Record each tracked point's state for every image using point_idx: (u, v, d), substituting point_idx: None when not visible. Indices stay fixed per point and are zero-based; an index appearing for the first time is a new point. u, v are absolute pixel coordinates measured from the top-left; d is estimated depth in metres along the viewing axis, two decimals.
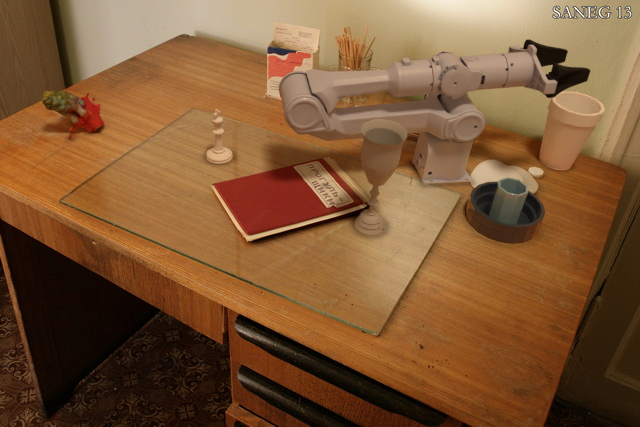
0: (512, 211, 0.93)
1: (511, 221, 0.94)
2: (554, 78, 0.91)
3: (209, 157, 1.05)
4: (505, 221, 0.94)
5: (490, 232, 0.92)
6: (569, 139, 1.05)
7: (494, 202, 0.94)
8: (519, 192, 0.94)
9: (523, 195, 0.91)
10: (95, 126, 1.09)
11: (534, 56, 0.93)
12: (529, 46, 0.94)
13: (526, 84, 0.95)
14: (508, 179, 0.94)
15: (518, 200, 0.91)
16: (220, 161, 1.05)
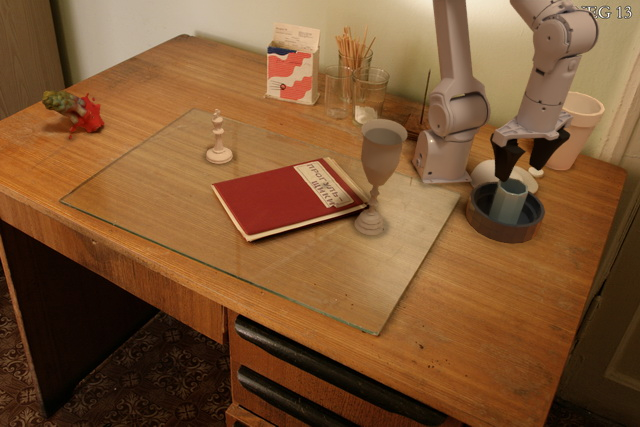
0: (512, 211, 0.93)
1: (511, 221, 0.94)
2: (507, 146, 0.83)
3: (209, 157, 1.05)
4: (505, 221, 0.94)
5: (490, 232, 0.92)
6: (569, 139, 1.05)
7: (494, 202, 0.94)
8: (519, 192, 0.94)
9: (523, 195, 0.91)
10: (95, 126, 1.09)
11: (542, 135, 0.83)
12: (556, 134, 0.83)
13: (517, 117, 0.85)
14: (508, 179, 0.94)
15: (518, 200, 0.91)
16: (220, 161, 1.05)
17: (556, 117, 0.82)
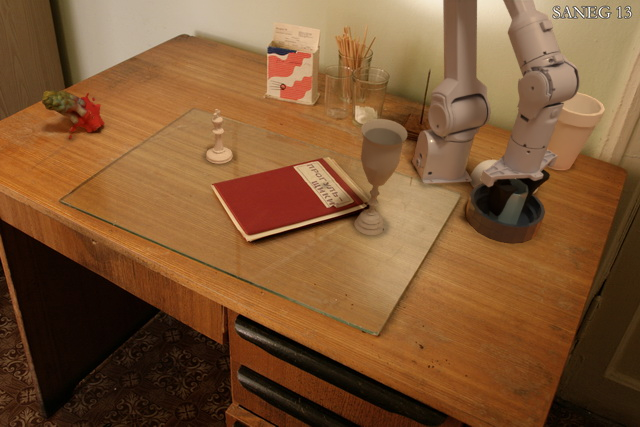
0: (512, 210, 0.93)
1: (511, 221, 0.94)
2: (500, 183, 0.88)
3: (209, 157, 1.05)
4: (505, 221, 0.94)
5: (490, 232, 0.92)
6: (569, 139, 1.05)
7: None
8: (519, 192, 0.94)
9: (523, 195, 0.91)
10: (95, 126, 1.09)
11: (527, 175, 0.87)
12: (541, 175, 0.87)
13: (504, 158, 0.90)
14: None
15: (518, 200, 0.91)
16: (220, 161, 1.05)
17: (540, 159, 0.87)
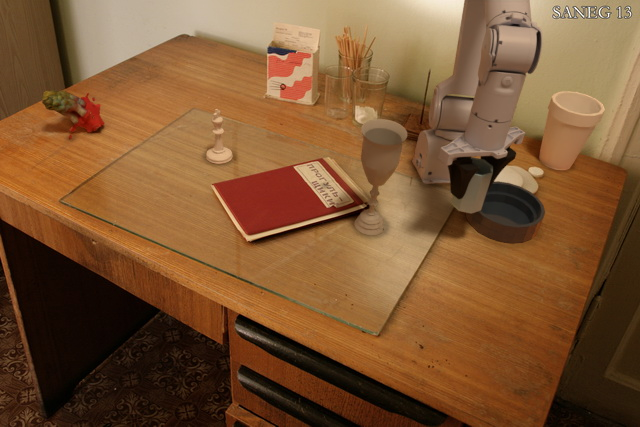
0: (476, 193, 0.84)
1: (475, 205, 0.86)
2: (460, 162, 0.80)
3: (209, 157, 1.05)
4: (469, 205, 0.86)
5: (490, 232, 0.92)
6: (569, 139, 1.05)
7: None
8: (484, 173, 0.86)
9: (487, 176, 0.83)
10: (95, 126, 1.09)
11: (490, 153, 0.79)
12: (505, 152, 0.79)
13: (465, 134, 0.81)
14: (472, 159, 0.86)
15: (482, 181, 0.83)
16: (220, 161, 1.05)
17: (504, 134, 0.78)
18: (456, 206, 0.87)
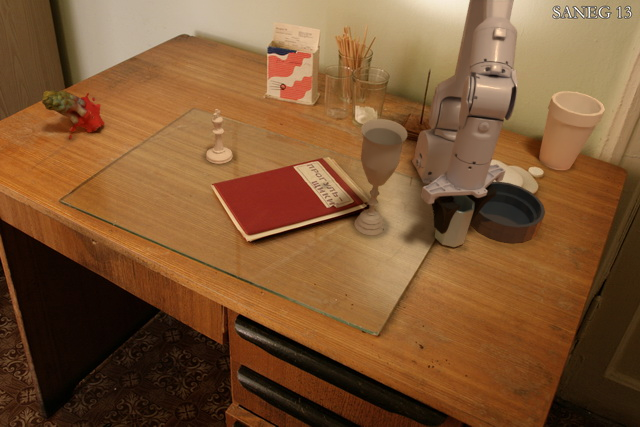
0: (458, 228, 0.88)
1: (458, 239, 0.89)
2: (442, 200, 0.83)
3: (209, 157, 1.05)
4: (451, 239, 0.89)
5: (490, 232, 0.92)
6: (569, 139, 1.05)
7: None
8: (466, 209, 0.89)
9: (469, 212, 0.86)
10: (95, 126, 1.09)
11: (470, 192, 0.82)
12: (485, 191, 0.82)
13: (447, 173, 0.84)
14: None
15: (463, 218, 0.86)
16: (220, 161, 1.05)
17: (483, 175, 0.81)
18: (439, 240, 0.90)
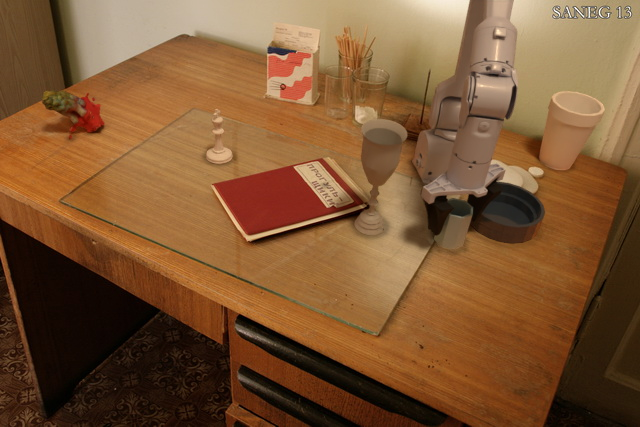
0: (457, 233, 0.88)
1: (456, 244, 0.90)
2: (436, 202, 0.83)
3: (209, 157, 1.05)
4: (450, 244, 0.90)
5: (490, 232, 0.92)
6: (569, 139, 1.05)
7: None
8: (465, 213, 0.90)
9: (467, 217, 0.87)
10: (95, 126, 1.09)
11: (470, 192, 0.82)
12: (485, 191, 0.82)
13: (447, 172, 0.84)
14: (453, 200, 0.90)
15: (462, 222, 0.87)
16: (220, 161, 1.05)
17: (484, 174, 0.81)
18: None
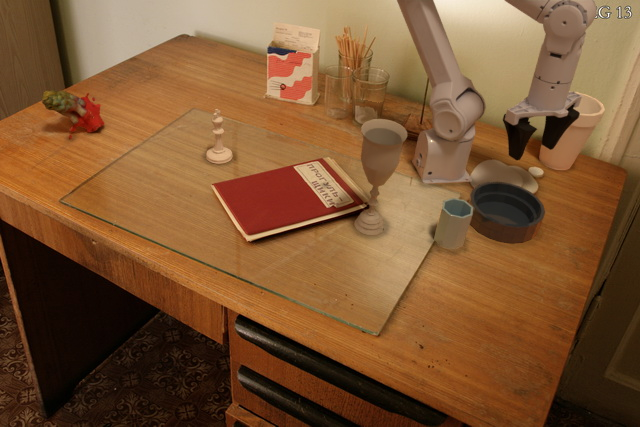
0: (457, 233, 0.88)
1: (456, 244, 0.90)
2: (519, 124, 0.88)
3: (209, 157, 1.05)
4: (450, 244, 0.90)
5: (490, 232, 0.92)
6: (569, 139, 1.05)
7: (438, 224, 0.89)
8: (465, 213, 0.90)
9: (467, 217, 0.87)
10: (95, 126, 1.09)
11: (552, 113, 0.88)
12: (566, 111, 0.88)
13: (528, 98, 0.90)
14: (453, 200, 0.90)
15: (462, 222, 0.87)
16: (220, 161, 1.05)
17: (565, 95, 0.87)
18: None
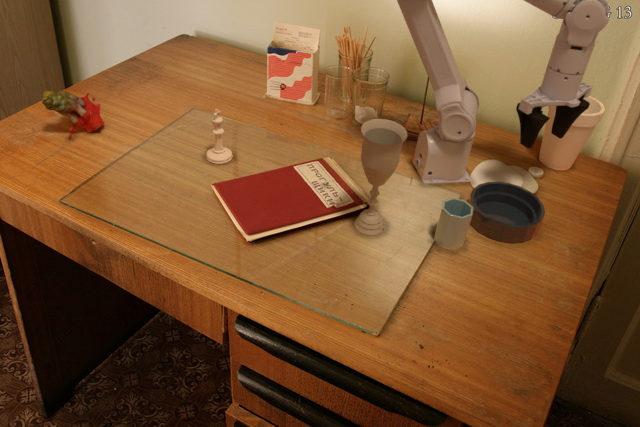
0: (457, 233, 0.88)
1: (456, 244, 0.90)
2: (533, 113, 0.91)
3: (209, 157, 1.05)
4: (450, 244, 0.90)
5: (490, 232, 0.92)
6: (569, 139, 1.05)
7: (438, 224, 0.89)
8: (465, 213, 0.90)
9: (467, 217, 0.87)
10: (95, 126, 1.09)
11: (565, 103, 0.91)
12: (578, 101, 0.91)
13: (541, 88, 0.93)
14: (453, 200, 0.90)
15: (462, 222, 0.87)
16: (220, 161, 1.05)
17: (577, 86, 0.90)
18: None
